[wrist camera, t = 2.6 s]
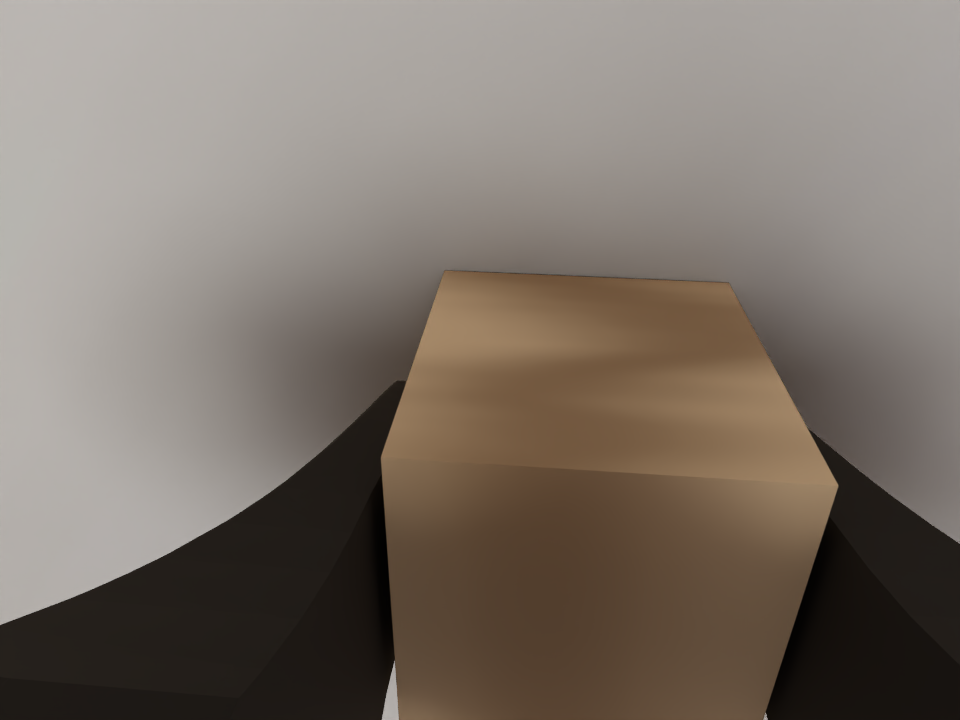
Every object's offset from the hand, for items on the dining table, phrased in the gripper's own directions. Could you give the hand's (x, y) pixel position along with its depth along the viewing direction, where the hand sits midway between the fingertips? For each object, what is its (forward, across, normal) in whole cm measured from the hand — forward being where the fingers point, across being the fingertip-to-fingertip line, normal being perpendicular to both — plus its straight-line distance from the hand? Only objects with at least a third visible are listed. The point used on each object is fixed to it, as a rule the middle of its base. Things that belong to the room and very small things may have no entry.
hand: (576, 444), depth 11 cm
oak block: (+1, 0, 0) cm, 1 cm away
